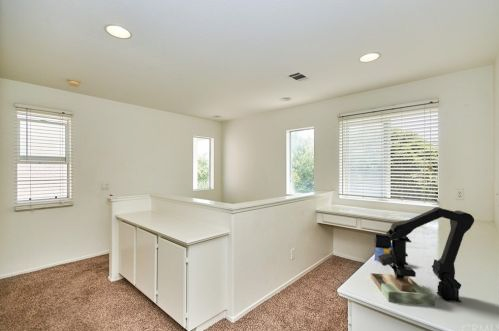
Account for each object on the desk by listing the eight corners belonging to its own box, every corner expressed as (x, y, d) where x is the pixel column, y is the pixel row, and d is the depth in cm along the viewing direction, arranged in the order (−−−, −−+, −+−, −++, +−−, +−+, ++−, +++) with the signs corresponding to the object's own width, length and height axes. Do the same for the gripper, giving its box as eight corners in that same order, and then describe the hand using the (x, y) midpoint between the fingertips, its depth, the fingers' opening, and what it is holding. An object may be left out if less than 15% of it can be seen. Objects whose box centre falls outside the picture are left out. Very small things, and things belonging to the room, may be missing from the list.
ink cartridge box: (374, 260, 146) (374, 237, 146) (377, 258, 149) (377, 235, 149) (391, 265, 138) (391, 241, 138) (395, 263, 142) (395, 239, 142)
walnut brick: (405, 286, 109) (405, 278, 109) (412, 294, 102) (412, 285, 102) (394, 285, 109) (394, 277, 110) (401, 293, 103) (401, 284, 103)
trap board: (408, 280, 120) (408, 271, 120) (434, 305, 98) (434, 295, 98) (370, 277, 123) (370, 269, 123) (388, 301, 101) (388, 291, 101)
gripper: (373, 242, 121) (373, 272, 121) (388, 256, 103) (388, 291, 103) (396, 243, 120) (396, 274, 120) (416, 258, 101) (416, 293, 101)
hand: (398, 282), depth 111 cm, fingers closed
